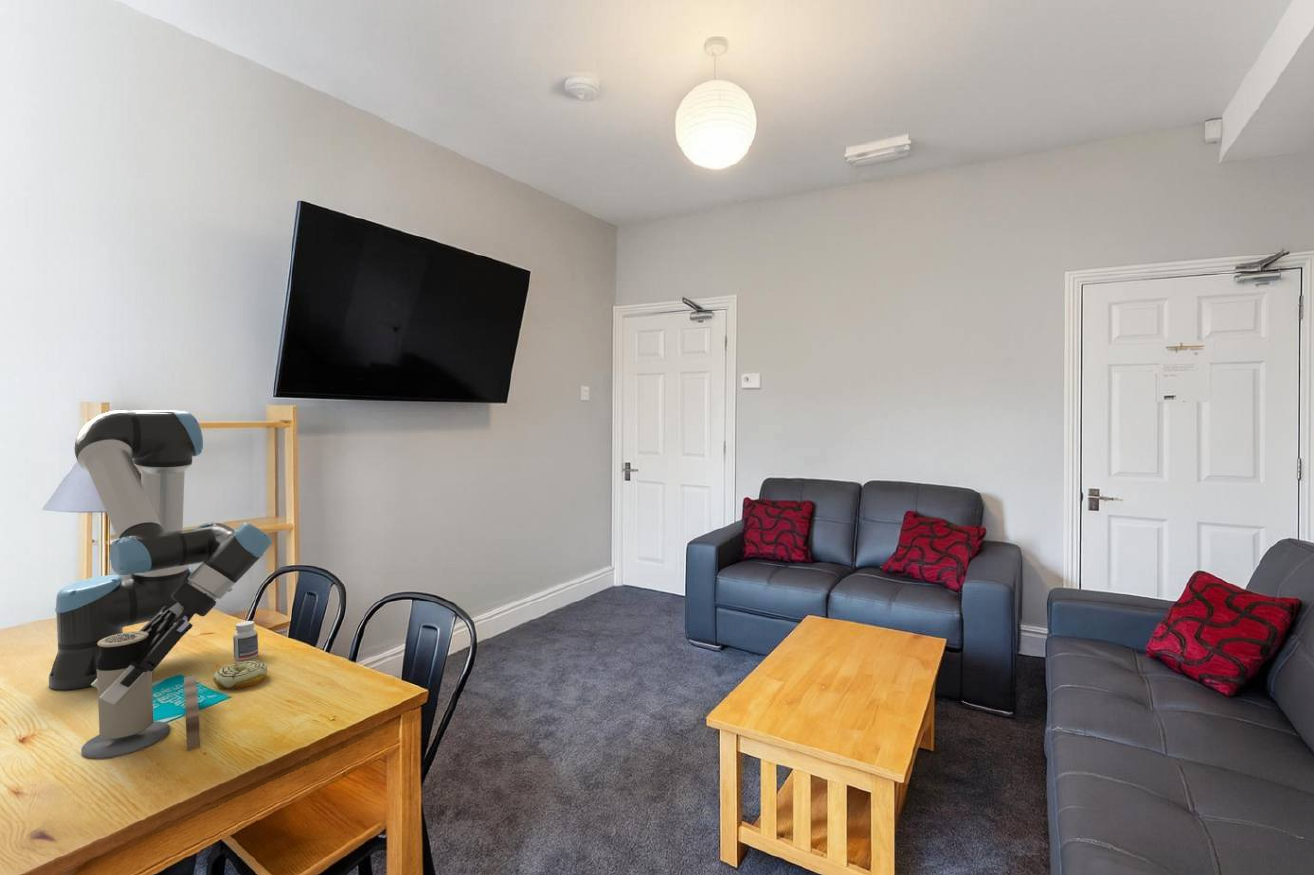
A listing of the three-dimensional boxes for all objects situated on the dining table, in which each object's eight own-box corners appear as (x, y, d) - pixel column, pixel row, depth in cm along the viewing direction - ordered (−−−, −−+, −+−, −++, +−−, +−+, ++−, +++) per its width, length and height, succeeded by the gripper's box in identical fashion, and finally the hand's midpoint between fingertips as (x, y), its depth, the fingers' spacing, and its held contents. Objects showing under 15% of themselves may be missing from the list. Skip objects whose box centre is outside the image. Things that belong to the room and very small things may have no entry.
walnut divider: (200, 747, 118) (199, 715, 117) (186, 750, 116) (185, 718, 116) (196, 702, 137) (195, 675, 136) (185, 704, 135) (184, 677, 135)
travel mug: (108, 744, 115) (104, 648, 114) (92, 733, 119) (88, 640, 119) (160, 726, 122) (157, 634, 121) (144, 716, 126) (140, 628, 125)
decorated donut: (225, 696, 140) (225, 679, 140) (206, 685, 146) (205, 669, 146) (275, 680, 148) (275, 664, 148) (255, 669, 155) (254, 654, 154)
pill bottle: (263, 654, 164) (262, 621, 164) (244, 661, 159) (243, 627, 159) (248, 652, 166) (247, 619, 166) (229, 659, 161) (228, 625, 161)
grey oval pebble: (61, 760, 113) (61, 757, 113) (118, 725, 126) (118, 722, 126) (136, 757, 114) (136, 753, 114) (185, 722, 127) (185, 719, 127)
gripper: (233, 610, 125) (133, 720, 113) (203, 592, 138) (110, 688, 126) (200, 589, 120) (92, 701, 109) (172, 573, 134) (73, 670, 122)
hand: (102, 694), depth 118 cm, fingers closed on travel mug, 8 cm apart
